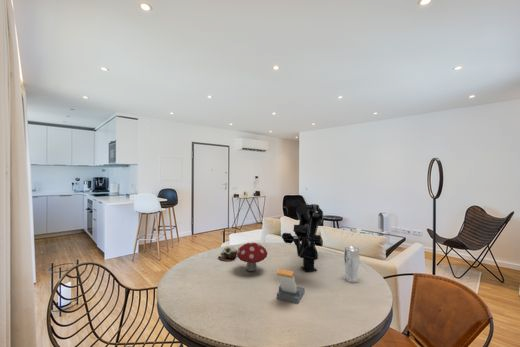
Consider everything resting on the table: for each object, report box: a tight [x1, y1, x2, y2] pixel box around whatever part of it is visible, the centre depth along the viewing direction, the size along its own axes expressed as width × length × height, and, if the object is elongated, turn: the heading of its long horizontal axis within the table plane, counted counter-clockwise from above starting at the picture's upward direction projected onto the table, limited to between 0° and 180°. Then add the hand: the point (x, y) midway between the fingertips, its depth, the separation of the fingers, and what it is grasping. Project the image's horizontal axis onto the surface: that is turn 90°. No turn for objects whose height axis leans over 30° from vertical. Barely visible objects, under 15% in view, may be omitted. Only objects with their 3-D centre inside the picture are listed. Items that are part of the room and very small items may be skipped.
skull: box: [218, 244, 238, 262], centre depth 145 cm, size 12×10×10 cm
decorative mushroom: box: [237, 242, 268, 272], centre depth 125 cm, size 16×16×15 cm
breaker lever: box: [276, 268, 297, 294], centre depth 96 cm, size 2×6×12 cm, turn 65°
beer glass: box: [343, 246, 360, 284], centre depth 116 cm, size 7×7×15 cm
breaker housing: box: [276, 284, 306, 305], centre depth 101 cm, size 10×9×4 cm
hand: (298, 256), depth 109 cm, fingers closed
